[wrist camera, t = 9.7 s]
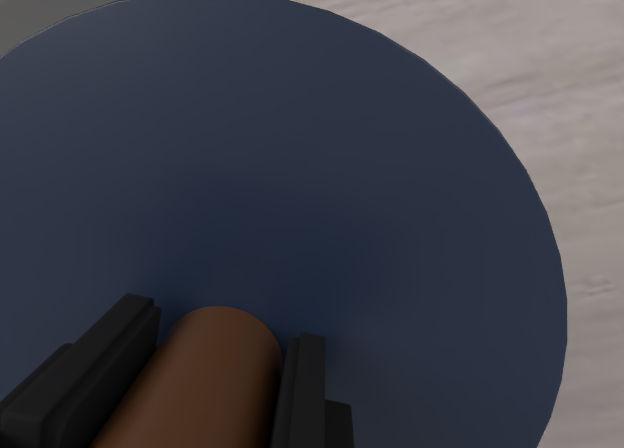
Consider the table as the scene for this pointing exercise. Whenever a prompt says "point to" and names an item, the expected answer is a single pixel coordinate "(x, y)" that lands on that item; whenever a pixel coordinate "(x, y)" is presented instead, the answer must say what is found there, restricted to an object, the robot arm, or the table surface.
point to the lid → (274, 226)
